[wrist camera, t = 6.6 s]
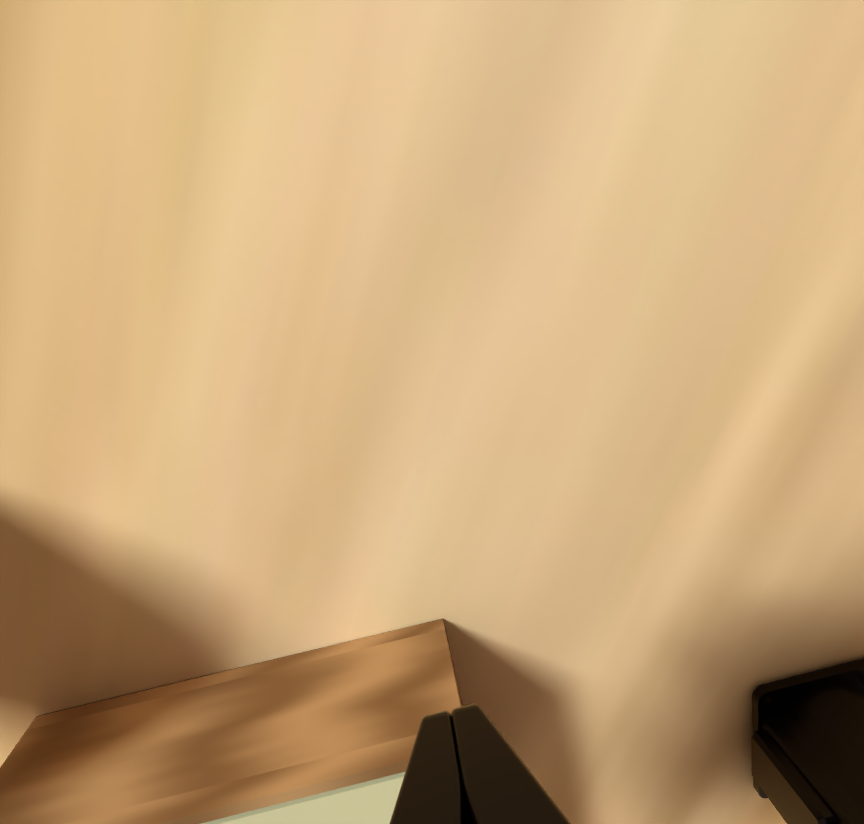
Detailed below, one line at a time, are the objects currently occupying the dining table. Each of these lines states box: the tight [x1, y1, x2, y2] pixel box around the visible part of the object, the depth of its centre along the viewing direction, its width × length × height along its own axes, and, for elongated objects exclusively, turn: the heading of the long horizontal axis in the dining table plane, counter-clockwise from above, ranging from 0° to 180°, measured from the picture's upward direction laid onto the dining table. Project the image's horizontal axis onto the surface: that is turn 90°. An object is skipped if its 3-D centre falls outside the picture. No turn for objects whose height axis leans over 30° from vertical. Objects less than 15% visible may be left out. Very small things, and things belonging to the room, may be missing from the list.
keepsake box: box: [0, 619, 462, 824], centre depth 20 cm, size 16×9×6 cm, turn 102°
